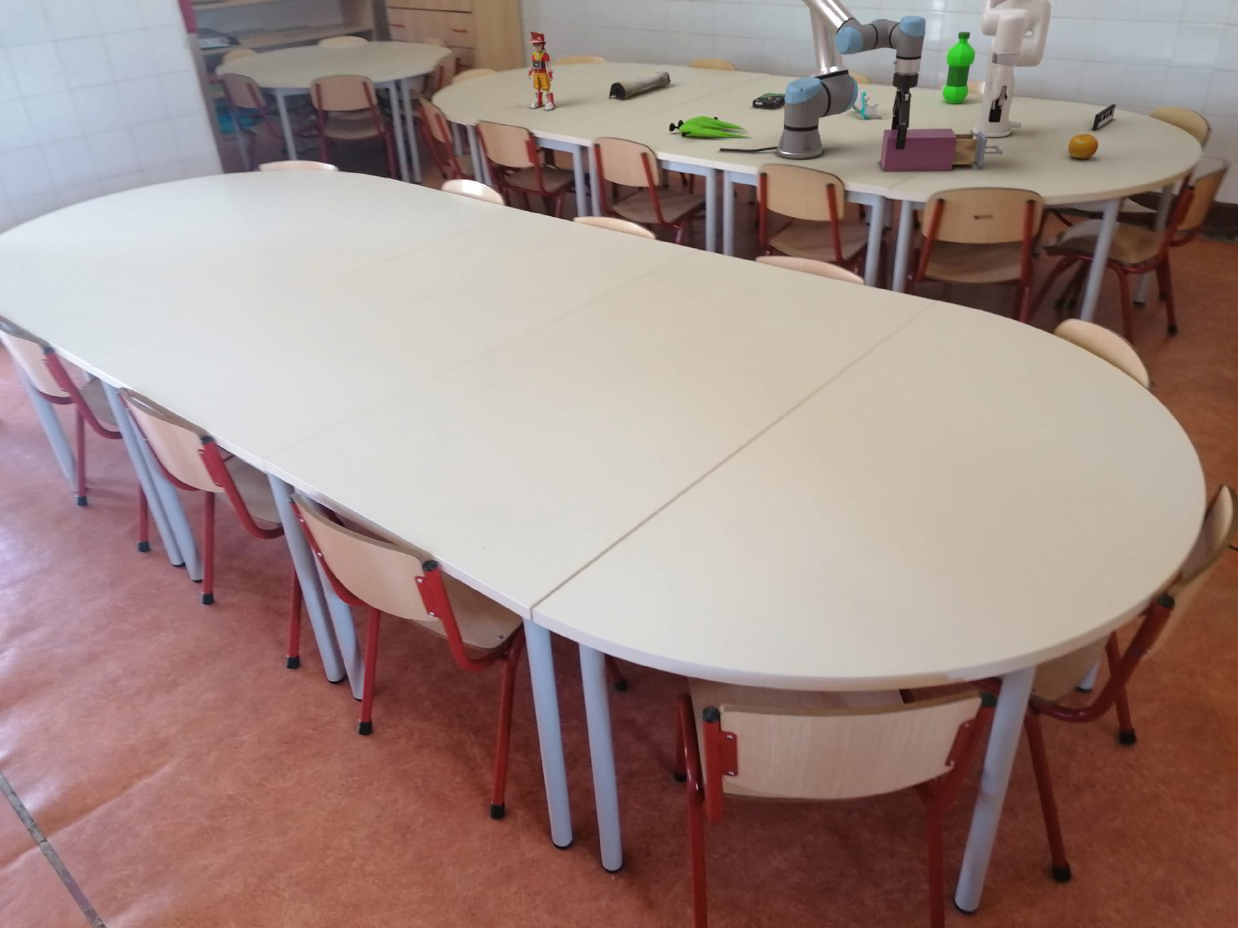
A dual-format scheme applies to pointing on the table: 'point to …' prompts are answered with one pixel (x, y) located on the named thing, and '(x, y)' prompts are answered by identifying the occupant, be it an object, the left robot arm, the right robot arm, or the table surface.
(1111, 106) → the midi keyboard
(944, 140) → the cabinet
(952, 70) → the plastic bottle
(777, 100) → the disk drive
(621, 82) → the rolled mat
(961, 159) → the drawer
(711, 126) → the toy
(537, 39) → the toy
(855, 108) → the anatomical model
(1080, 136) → the fruit
